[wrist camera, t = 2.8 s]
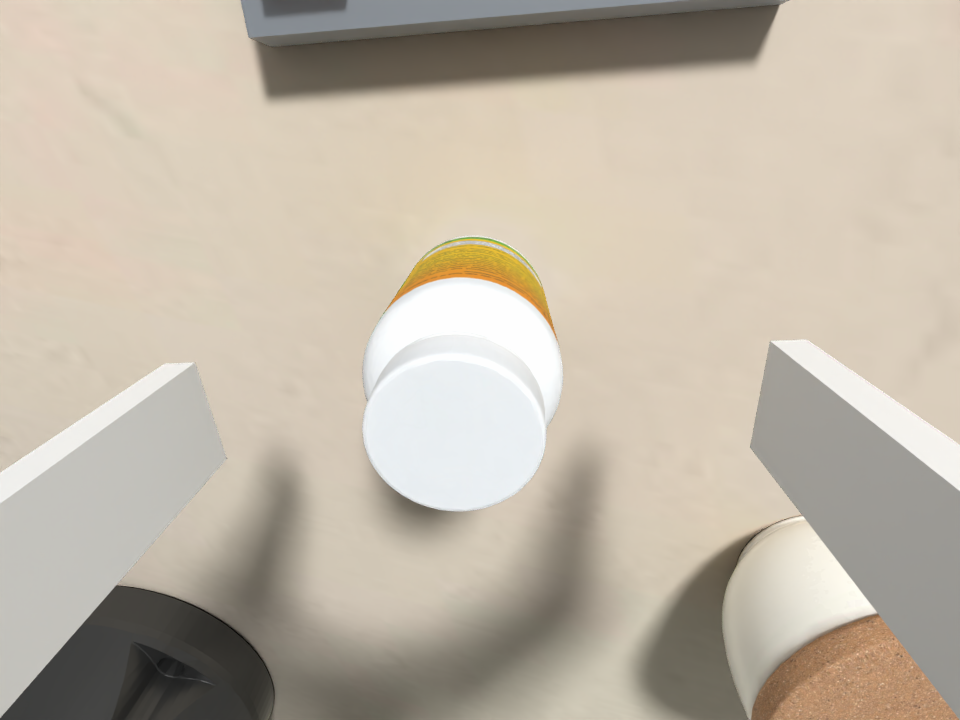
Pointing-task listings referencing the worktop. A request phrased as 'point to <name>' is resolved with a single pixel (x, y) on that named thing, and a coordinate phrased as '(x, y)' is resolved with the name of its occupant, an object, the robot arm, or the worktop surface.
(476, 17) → the socket plate
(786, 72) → the worktop surface
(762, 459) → the robot arm
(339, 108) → the worktop surface
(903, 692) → the lidded jar
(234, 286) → the worktop surface
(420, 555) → the worktop surface
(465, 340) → the supplement bottle
